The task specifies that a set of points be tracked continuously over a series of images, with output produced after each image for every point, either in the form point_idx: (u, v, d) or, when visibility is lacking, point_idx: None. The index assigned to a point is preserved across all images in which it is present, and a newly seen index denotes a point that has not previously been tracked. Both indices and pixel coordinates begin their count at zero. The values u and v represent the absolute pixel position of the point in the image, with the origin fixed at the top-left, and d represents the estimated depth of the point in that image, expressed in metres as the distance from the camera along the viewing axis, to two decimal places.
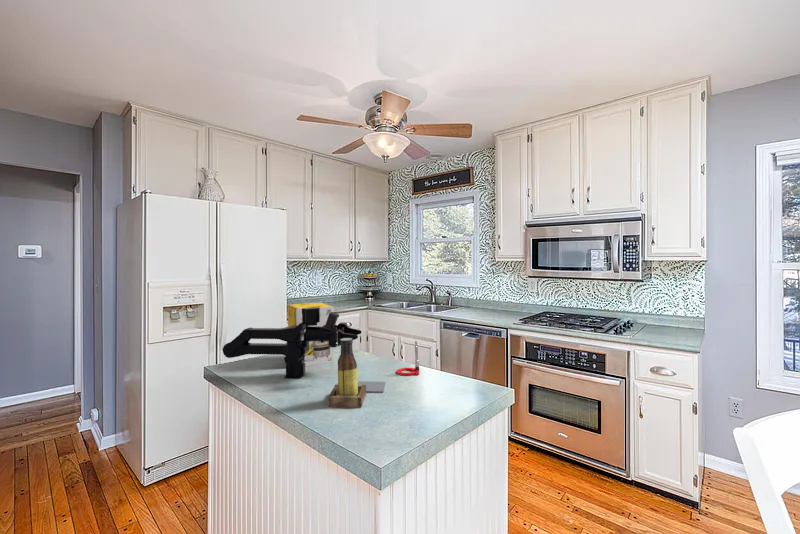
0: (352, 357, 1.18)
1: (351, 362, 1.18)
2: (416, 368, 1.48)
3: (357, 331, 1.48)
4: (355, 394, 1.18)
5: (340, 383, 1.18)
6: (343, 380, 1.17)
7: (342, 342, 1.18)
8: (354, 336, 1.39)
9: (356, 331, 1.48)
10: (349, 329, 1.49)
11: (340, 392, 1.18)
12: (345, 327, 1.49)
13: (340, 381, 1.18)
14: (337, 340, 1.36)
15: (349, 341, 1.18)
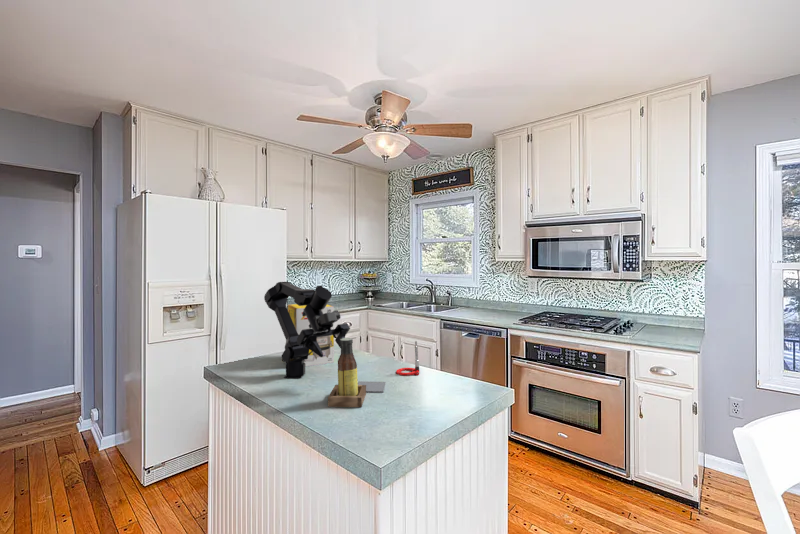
0: (352, 357, 1.18)
1: (351, 362, 1.18)
2: (416, 368, 1.48)
3: None
4: (355, 394, 1.18)
5: (340, 383, 1.18)
6: (343, 380, 1.17)
7: (342, 342, 1.18)
8: (319, 353, 1.22)
9: None
10: (341, 338, 1.31)
11: (340, 392, 1.18)
12: (340, 333, 1.31)
13: (340, 381, 1.18)
14: (304, 342, 1.24)
15: (349, 341, 1.18)
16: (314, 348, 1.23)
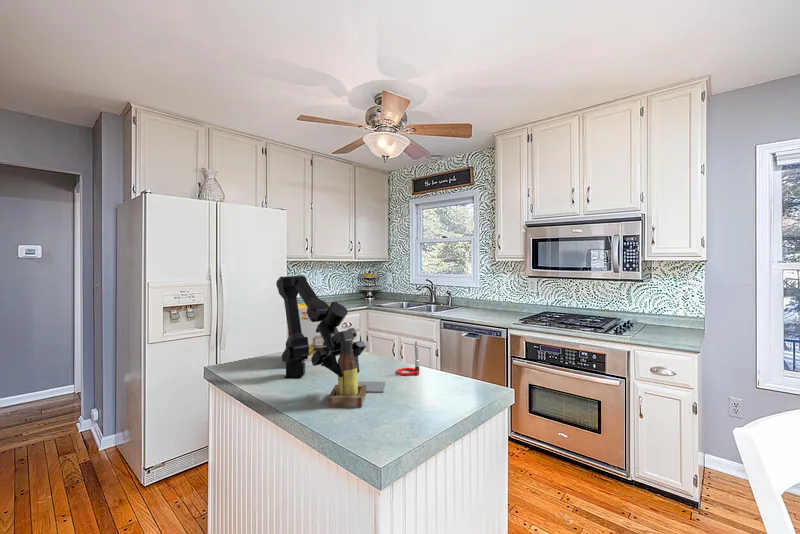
0: (352, 357, 1.18)
1: (351, 362, 1.18)
2: (416, 368, 1.48)
3: None
4: (355, 394, 1.18)
5: (340, 383, 1.18)
6: (343, 380, 1.17)
7: (342, 342, 1.18)
8: (339, 374, 1.17)
9: None
10: None
11: (340, 392, 1.18)
12: (353, 352, 1.24)
13: (340, 381, 1.18)
14: (323, 361, 1.18)
15: (349, 341, 1.18)
16: (333, 368, 1.18)
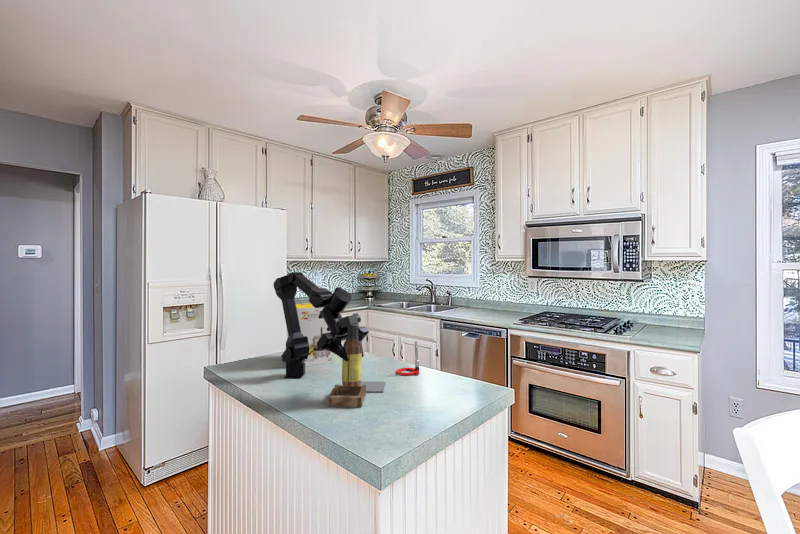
0: (358, 342, 1.21)
1: (357, 347, 1.20)
2: (416, 368, 1.48)
3: None
4: (359, 379, 1.20)
5: (345, 367, 1.19)
6: (348, 364, 1.19)
7: (349, 326, 1.20)
8: (345, 357, 1.18)
9: None
10: None
11: (344, 376, 1.19)
12: None
13: (345, 365, 1.19)
14: (328, 345, 1.19)
15: (356, 326, 1.21)
16: (339, 352, 1.19)
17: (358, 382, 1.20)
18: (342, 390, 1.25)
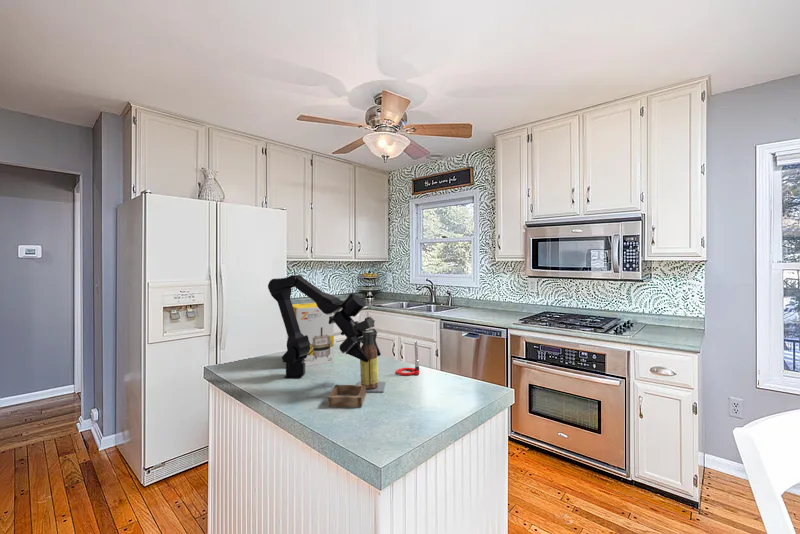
0: (375, 347, 1.30)
1: (375, 351, 1.29)
2: (416, 368, 1.48)
3: (377, 351, 1.35)
4: None
5: (366, 371, 1.28)
6: (369, 368, 1.28)
7: (367, 334, 1.29)
8: (365, 359, 1.27)
9: None
10: None
11: (365, 380, 1.28)
12: None
13: (366, 370, 1.28)
14: (348, 349, 1.26)
15: (372, 332, 1.30)
16: (358, 354, 1.27)
17: (377, 383, 1.30)
18: (342, 390, 1.25)
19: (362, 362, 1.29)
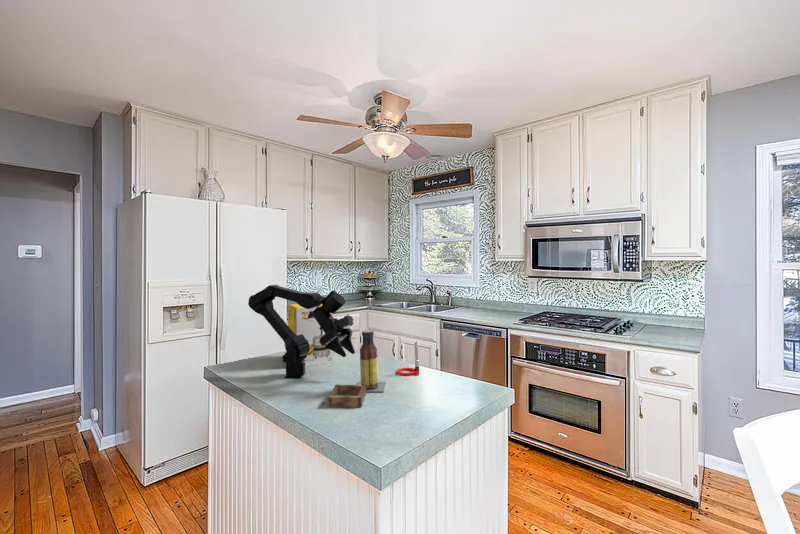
0: (374, 347, 1.30)
1: (375, 351, 1.29)
2: (416, 368, 1.48)
3: (352, 349, 1.41)
4: None
5: (365, 371, 1.28)
6: (369, 368, 1.28)
7: (366, 334, 1.29)
8: (343, 354, 1.31)
9: (351, 349, 1.41)
10: (348, 341, 1.42)
11: (365, 380, 1.28)
12: (348, 336, 1.42)
13: (365, 370, 1.28)
14: (328, 342, 1.30)
15: (372, 332, 1.30)
16: (337, 348, 1.31)
17: (377, 383, 1.30)
18: (342, 390, 1.25)
19: (362, 362, 1.29)
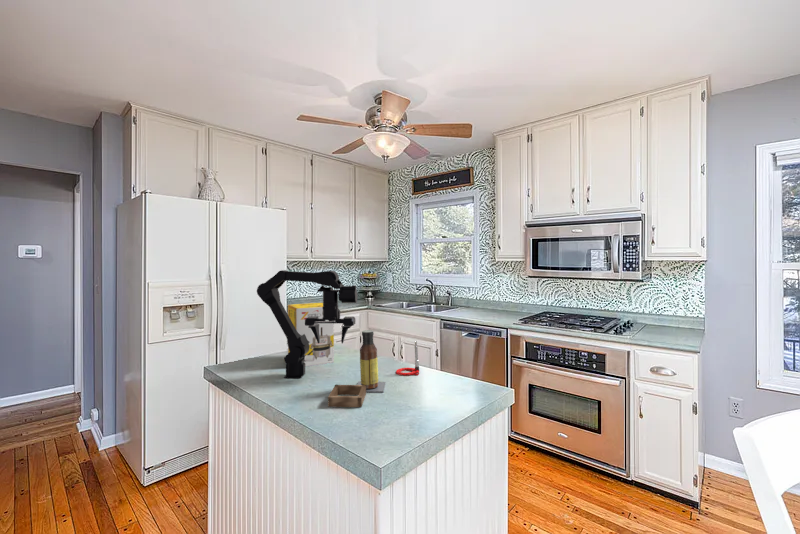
0: (374, 347, 1.30)
1: (375, 351, 1.29)
2: (416, 368, 1.48)
3: (319, 339, 1.44)
4: None
5: (365, 371, 1.28)
6: (369, 368, 1.28)
7: (366, 334, 1.29)
8: (343, 340, 1.44)
9: (319, 338, 1.44)
10: (318, 330, 1.45)
11: (365, 380, 1.28)
12: (318, 325, 1.46)
13: (365, 370, 1.28)
14: (350, 325, 1.43)
15: (372, 332, 1.30)
16: (345, 333, 1.44)
17: (377, 383, 1.30)
18: (342, 390, 1.25)
19: (362, 362, 1.29)
